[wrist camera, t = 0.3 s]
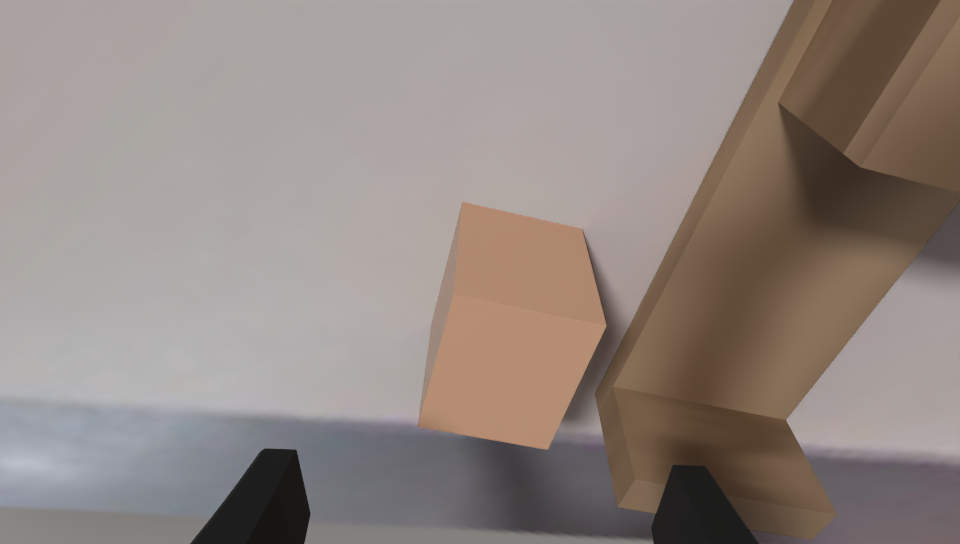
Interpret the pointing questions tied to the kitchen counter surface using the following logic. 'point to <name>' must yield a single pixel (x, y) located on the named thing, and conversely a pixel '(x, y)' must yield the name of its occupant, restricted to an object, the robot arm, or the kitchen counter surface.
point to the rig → (788, 254)
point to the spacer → (510, 328)
